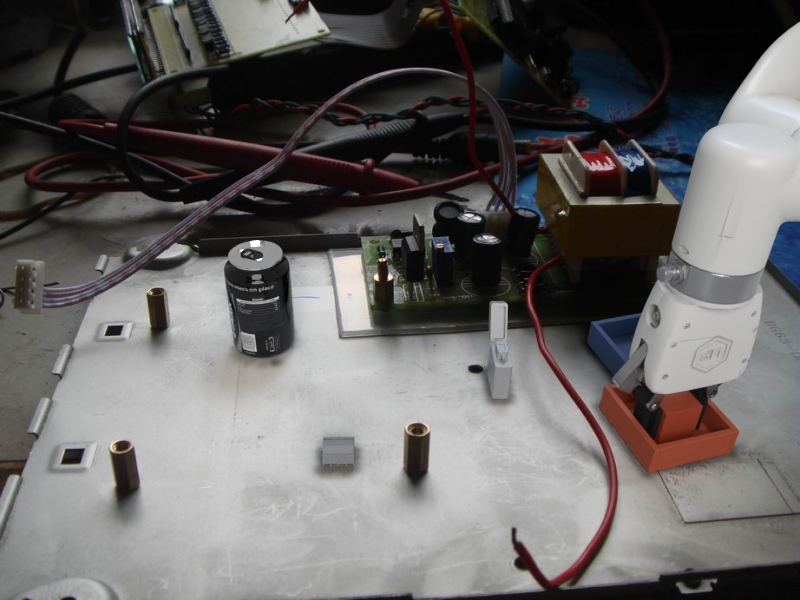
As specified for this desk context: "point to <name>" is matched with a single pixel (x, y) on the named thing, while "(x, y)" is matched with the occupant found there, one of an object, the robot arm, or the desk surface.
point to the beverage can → (260, 299)
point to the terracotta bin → (705, 442)
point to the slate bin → (613, 340)
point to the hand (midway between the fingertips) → (664, 423)
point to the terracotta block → (678, 416)
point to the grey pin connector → (338, 450)
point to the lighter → (499, 351)
